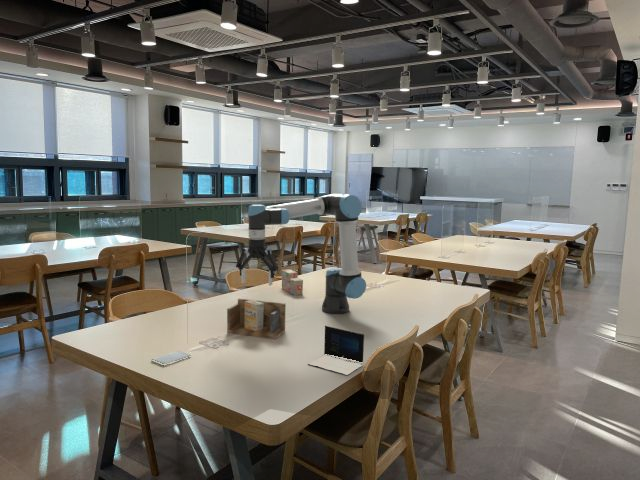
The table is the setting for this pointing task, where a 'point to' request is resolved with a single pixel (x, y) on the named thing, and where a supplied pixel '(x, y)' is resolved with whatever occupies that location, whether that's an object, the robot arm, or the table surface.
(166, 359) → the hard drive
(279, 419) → the table surface
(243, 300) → the small wooden side table
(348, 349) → the laptop
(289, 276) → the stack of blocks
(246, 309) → the supplement box
